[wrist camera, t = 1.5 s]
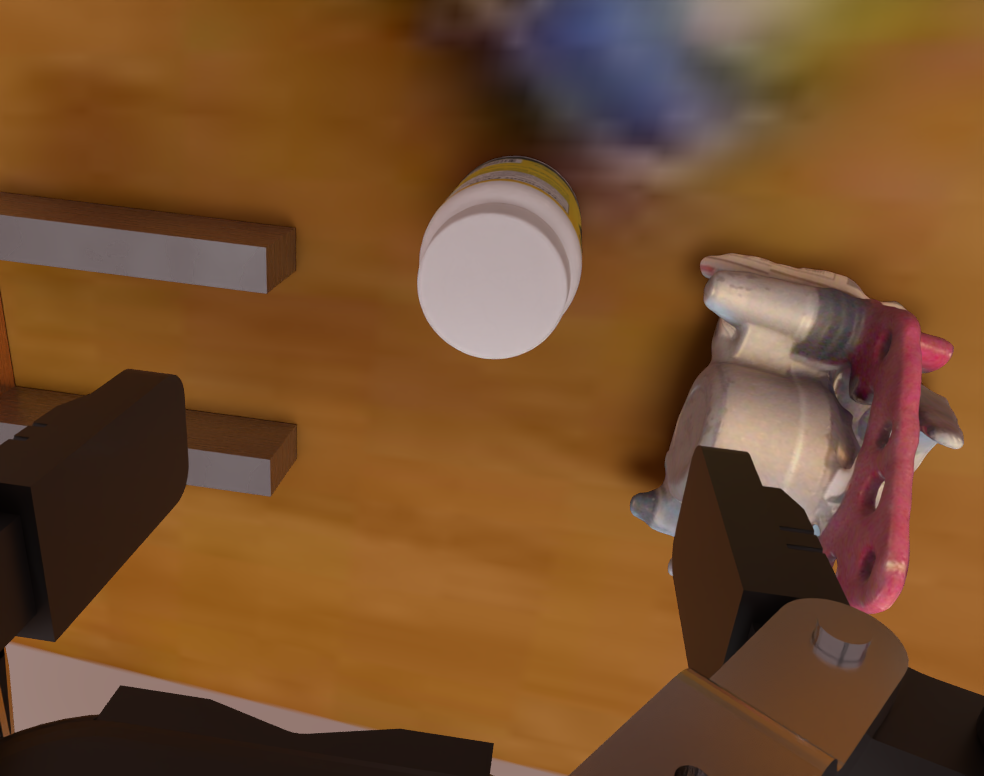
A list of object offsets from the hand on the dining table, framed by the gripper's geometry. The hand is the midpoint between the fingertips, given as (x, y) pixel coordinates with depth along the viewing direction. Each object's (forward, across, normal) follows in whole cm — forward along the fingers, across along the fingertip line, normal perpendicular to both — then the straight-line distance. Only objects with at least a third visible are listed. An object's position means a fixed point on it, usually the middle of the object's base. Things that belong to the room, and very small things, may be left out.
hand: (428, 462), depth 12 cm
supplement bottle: (+18, 0, 0) cm, 18 cm away
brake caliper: (+18, -10, +6) cm, 21 cm away
